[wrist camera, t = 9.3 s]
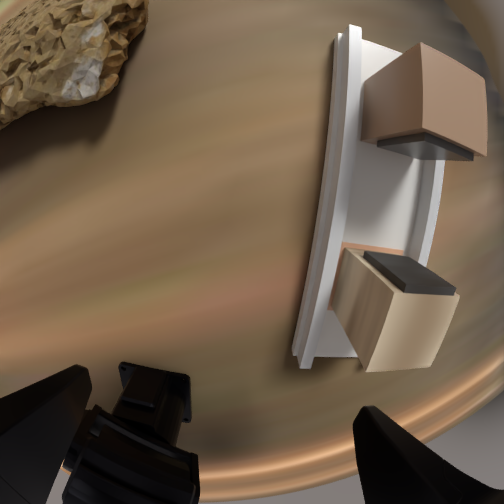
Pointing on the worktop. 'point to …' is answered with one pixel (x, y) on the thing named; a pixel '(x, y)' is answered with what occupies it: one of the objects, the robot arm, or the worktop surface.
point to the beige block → (392, 309)
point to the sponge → (65, 52)
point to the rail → (384, 167)
